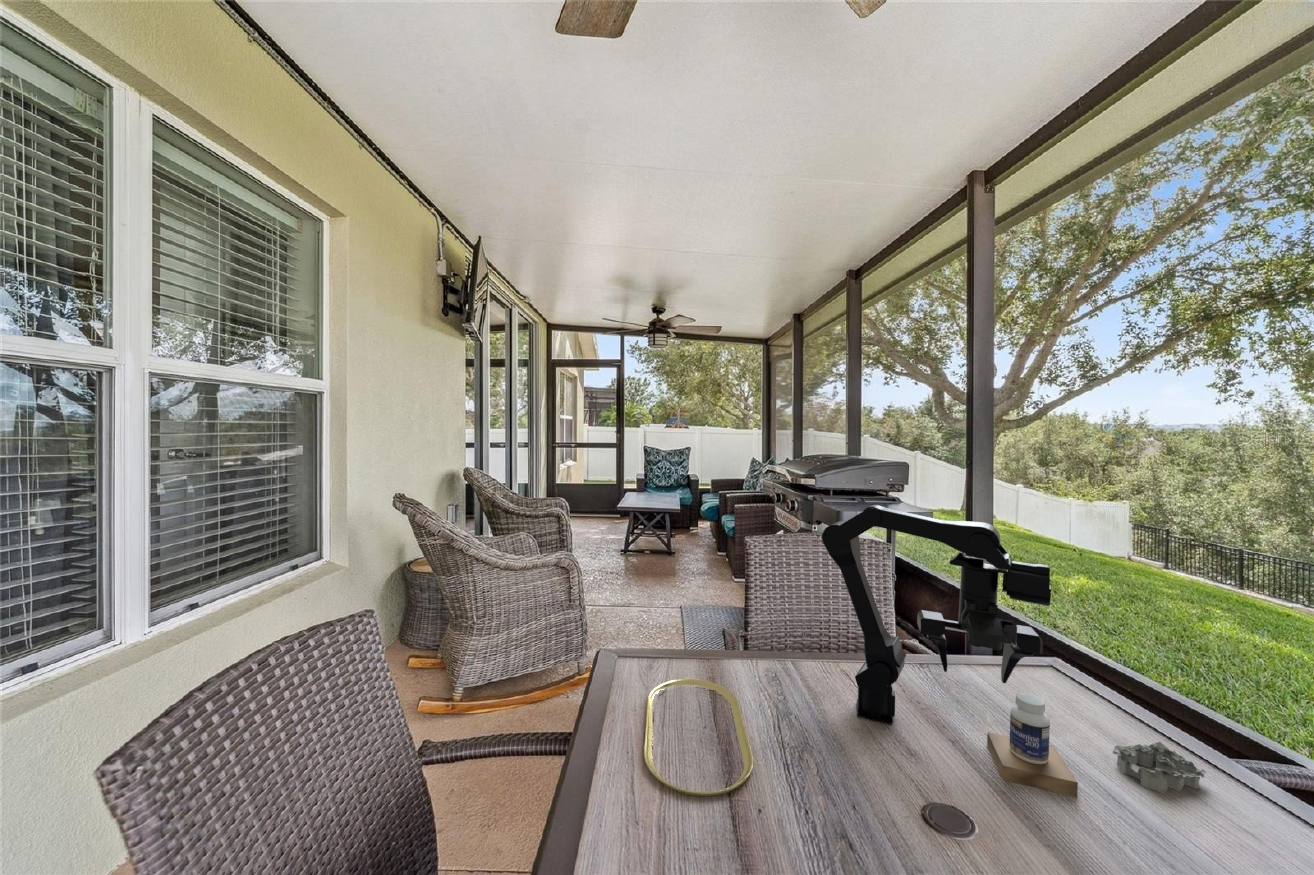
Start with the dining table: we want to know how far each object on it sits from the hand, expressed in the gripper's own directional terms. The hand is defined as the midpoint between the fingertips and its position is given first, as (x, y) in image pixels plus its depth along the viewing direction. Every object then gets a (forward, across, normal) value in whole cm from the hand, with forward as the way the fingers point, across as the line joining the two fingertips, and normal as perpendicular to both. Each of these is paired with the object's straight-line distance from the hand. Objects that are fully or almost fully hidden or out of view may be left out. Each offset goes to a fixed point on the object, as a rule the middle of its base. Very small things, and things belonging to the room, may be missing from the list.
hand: (973, 676), depth 91 cm
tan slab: (+12, +8, -4) cm, 15 cm away
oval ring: (+14, -48, -16) cm, 53 cm away
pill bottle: (+10, +8, -4) cm, 13 cm away
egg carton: (+13, +28, +3) cm, 31 cm away
